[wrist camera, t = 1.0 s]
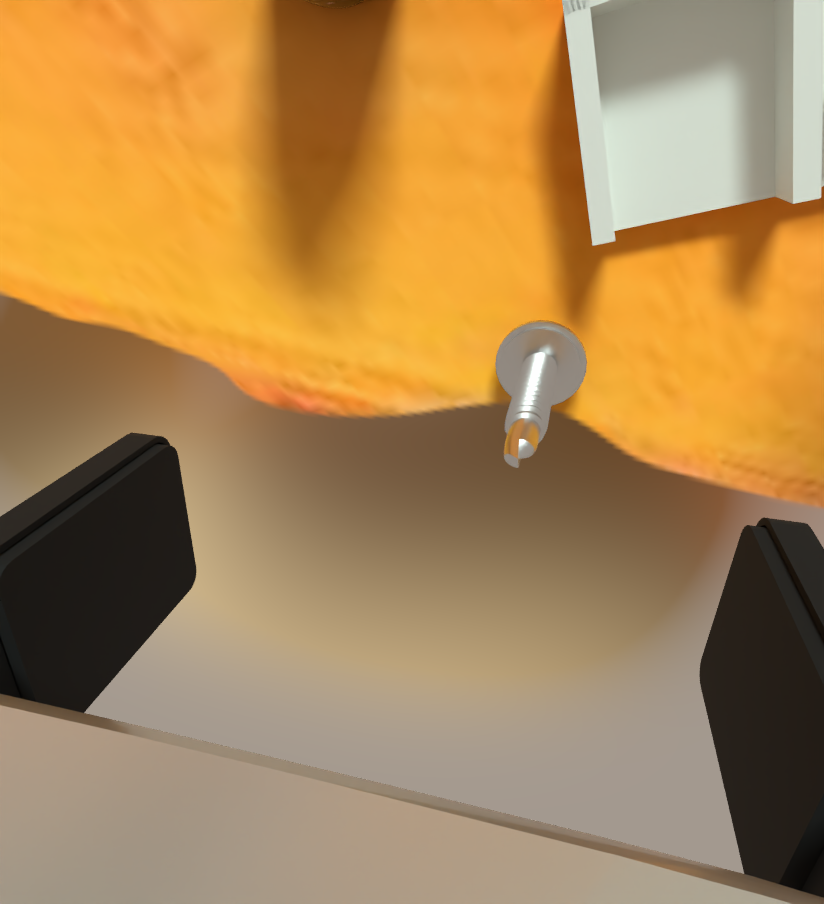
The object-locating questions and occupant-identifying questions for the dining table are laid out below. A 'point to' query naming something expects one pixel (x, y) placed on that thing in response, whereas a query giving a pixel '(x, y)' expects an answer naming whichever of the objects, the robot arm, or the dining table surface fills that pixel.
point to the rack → (695, 105)
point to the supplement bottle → (335, 3)
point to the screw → (536, 380)
